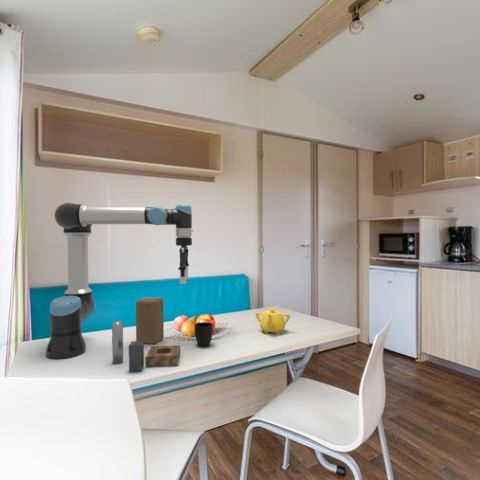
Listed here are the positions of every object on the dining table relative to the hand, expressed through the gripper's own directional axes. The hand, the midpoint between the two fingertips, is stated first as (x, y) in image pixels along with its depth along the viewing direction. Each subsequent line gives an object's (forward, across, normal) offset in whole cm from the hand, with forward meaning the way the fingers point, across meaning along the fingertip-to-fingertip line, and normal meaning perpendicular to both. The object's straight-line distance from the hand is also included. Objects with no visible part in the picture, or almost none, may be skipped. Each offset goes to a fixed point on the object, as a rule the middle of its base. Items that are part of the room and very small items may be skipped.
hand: (184, 281), depth 161 cm
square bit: (+28, -34, +15) cm, 47 cm away
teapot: (+28, +7, -44) cm, 53 cm away
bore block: (+28, -26, +6) cm, 39 cm away
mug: (+28, -7, -9) cm, 30 cm away
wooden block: (+28, 0, +16) cm, 33 cm away
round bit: (+28, -26, +24) cm, 45 cm away
